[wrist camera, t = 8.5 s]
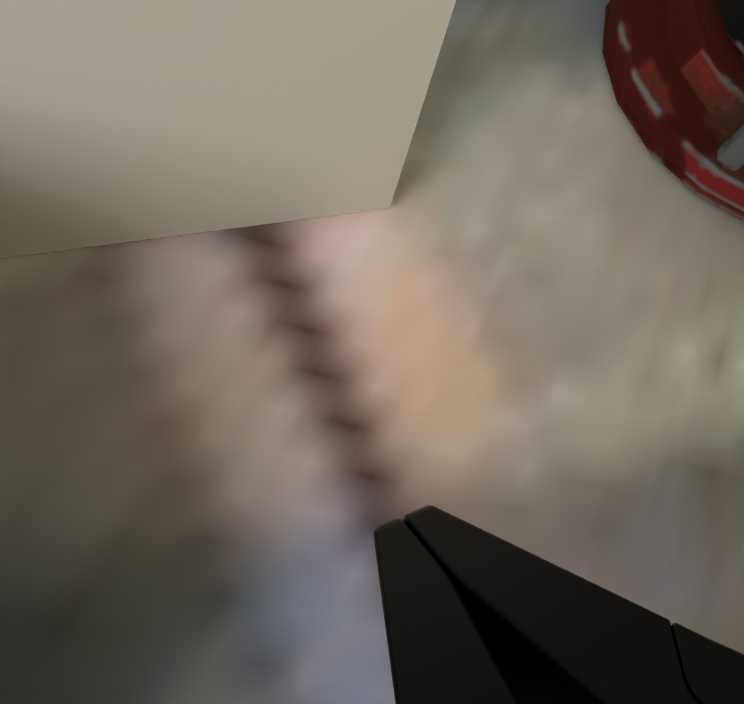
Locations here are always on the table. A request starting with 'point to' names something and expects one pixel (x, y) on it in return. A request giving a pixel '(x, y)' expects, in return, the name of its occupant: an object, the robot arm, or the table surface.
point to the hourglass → (684, 88)
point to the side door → (203, 113)
